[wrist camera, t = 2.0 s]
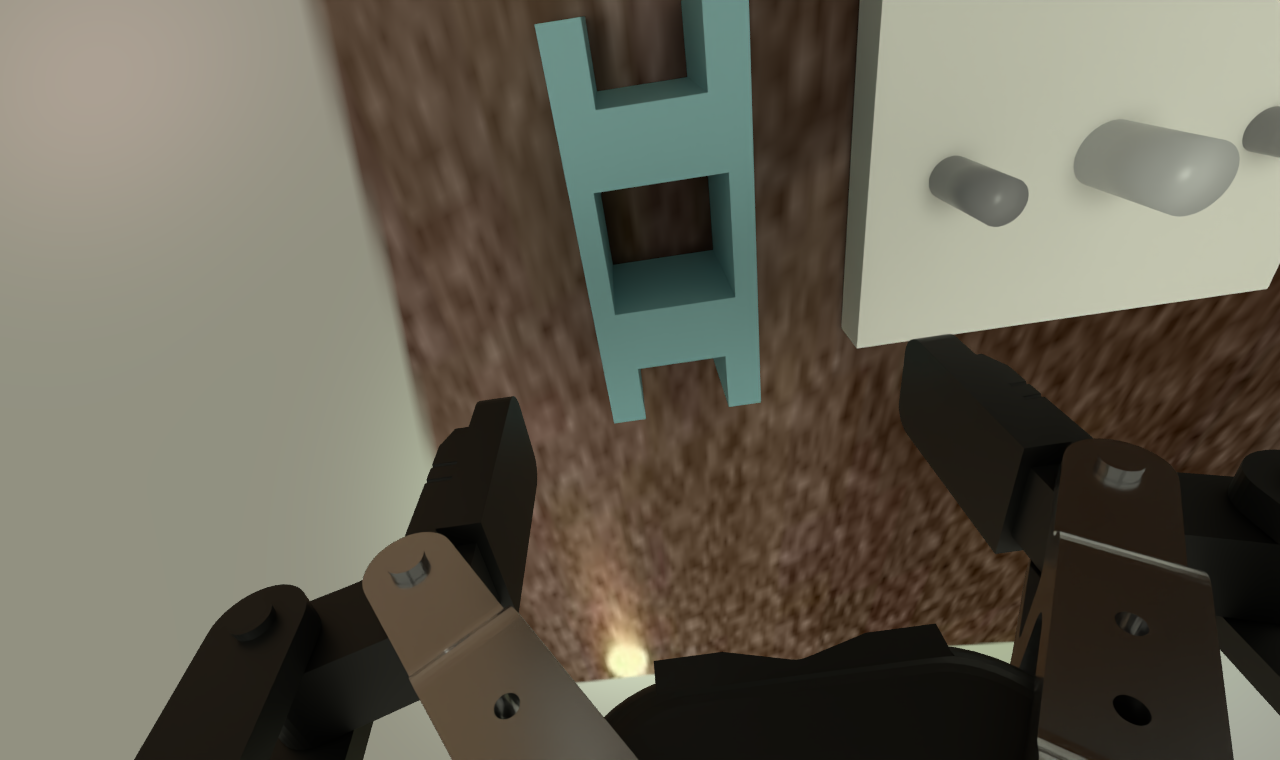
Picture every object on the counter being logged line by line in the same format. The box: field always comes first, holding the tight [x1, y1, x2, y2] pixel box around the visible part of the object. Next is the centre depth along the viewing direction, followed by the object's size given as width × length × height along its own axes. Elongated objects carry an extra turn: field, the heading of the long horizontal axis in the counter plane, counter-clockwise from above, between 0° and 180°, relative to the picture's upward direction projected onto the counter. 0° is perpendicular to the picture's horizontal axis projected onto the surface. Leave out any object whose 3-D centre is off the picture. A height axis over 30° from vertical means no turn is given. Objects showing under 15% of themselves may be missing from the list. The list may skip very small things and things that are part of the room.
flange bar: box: [534, 0, 761, 423], centre depth 22 cm, size 14×6×5 cm, turn 8°
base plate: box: [841, 0, 1280, 348], centre depth 21 cm, size 14×18×6 cm
